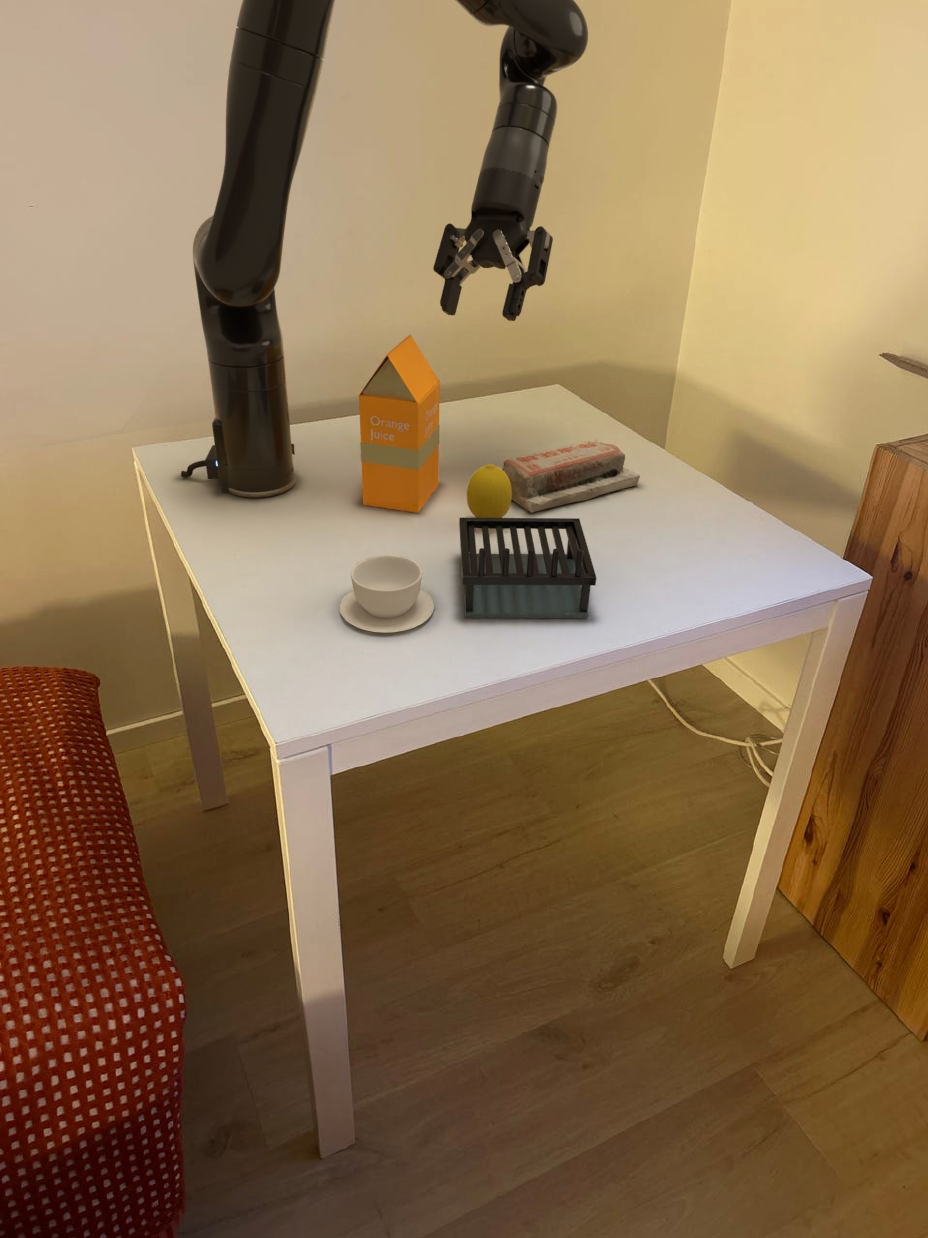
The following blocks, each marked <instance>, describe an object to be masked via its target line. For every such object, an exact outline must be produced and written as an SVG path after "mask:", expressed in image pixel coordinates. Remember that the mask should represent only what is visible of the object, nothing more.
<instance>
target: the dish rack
mask: <svg viewBox="0 0 928 1238" xmlns="http://www.w3.org/2000/svg"><path fill="white" fill-rule="evenodd" d="M458 521H459V523H458V526H459V528H458V529H459V544H460V562H461V583H462V585H463V601H464V617H465V618H466V619H467V618H468V619H588V617H589V612H588V611H589V602H590V594H591V587H592V586H597V574H596V571H595V568H594V564H593V561H592V558H591V554H590V550H589V548H588V547H589V546H588V543H587V540H586V536H585V533H584V530H583V527H582V526H583V525H582V523H581V519H580V518H575V517H574V518H573V517H572V518H571V517H569V518H565V517H564V518H562V517H561V518H559V517H555V518H554V517H502V518H476V517H459V518H458ZM475 529H481V534H482V535H481V537H482V544H483V545H482V546H483V547H481V548H479V549H478V553H477V544H476V530H475ZM490 529H495V533H496V542H497V549H498V553H492V548H491V539H490V531H489V530H490ZM504 529H507V530H509V533H510V539H511V546H512V552H513V553H511V549H510V548H508V547H506V543H505V535H504ZM519 529H521V530H523V532H524V539H525V543H526V549H527V553H522V552H521V547H520V540H519V535H518V530H519ZM532 530H537V534H538V537H539V542H540V548H541V553H536V549H535V544H534V539H533V538H534V537H533V533H532ZM546 530H551V532H552V538H553V542H554V546H555V548H553V550H552V553H551V550H550V545H549V541H548V538H547V532H546ZM560 530H565V532H566V536H567V544H566V545H567V546H566V552H565V548H564V544H563V539H562V535H561V531H560Z"/></svg>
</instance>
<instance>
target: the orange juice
mask: <svg viewBox="0 0 928 1238" xmlns="http://www.w3.org/2000/svg"><path fill="white" fill-rule="evenodd" d="M440 383H441V381H440V379H439V378H438V377H437V375H436V372H434V369H432V367H431V365H430V364H429V362H428V361H427V359H426V357H425V356H424V354H423V351H422V350H421V349H420V347H419V346H418V344H417V342H416V341H415V339H414V338H413V336H412V334H409V335H407V336H406V337H404V339H403V340H402V341H400V342H399V343H398V344H397V345H396V346H395V347H394V348H392V349H391V350H390V351H389V352H388V353H387V354H386V355H385V357H384V358H383V359H382V361H381V362H380V364H379V366H377V368H376V370H375V371H374V372H373V374H372V376H371V377H370V379H369V380H368V382H367V383H366V385H364V387H363V389H362V390H361V392H360V393H359V395H358V404H359V405H358V406H359V407H358V408H359V430H360V432H359V433H360V462H361V484H362V485H361V486H362V505H363V506H368V507H369V506H370V507H376V508H381V509H388V510H389V509H390V510H397V511H401V512H407V513H408V512H409V513H415V514H419V513H420V512H421V510H422V509H423V508H424V507H425V505H426V503H427V502H428V501H429V499H430V498H431V496H432V495H433V494H434V493H435V491H436V490H437V488H438V487H439V484H440V483H439V481H440V474H439V473H440V429H441V428H440V426H441V425H440V392H441V391H440V389H441V388H440V386H441V384H440Z"/></svg>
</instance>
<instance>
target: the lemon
mask: <svg viewBox="0 0 928 1238" xmlns="http://www.w3.org/2000/svg"><path fill="white" fill-rule="evenodd" d="M502 469H503V468H500V467H498V466H496V465H494V464H493V463H488V464H487V465H484V466H481V467H479V468H477V470H475V471H474V472H473V473H472V475H471V477H470V478H469V482H468V484H467V487H466V488H467V489H466V502H467V506H468V509H469V510H470V513H471V514H472V515H473V517H474V518H504V517H505V515H506V514H507V513H508V511H509V509H510V508H511V504H512V488H511V483H510V480H509V478H508V476H507V474H506V473H505V472H504V471H503V470H502Z"/></svg>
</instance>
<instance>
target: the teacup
mask: <svg viewBox="0 0 928 1238" xmlns="http://www.w3.org/2000/svg"><path fill="white" fill-rule="evenodd" d="M422 577H423V570H422V567H421V566H420V564H418V563H417V562H416V561H414V560H413V559H411V558H408V557H406V556H402V555H396V554H380V555H373V556H369V557H366V558H364V559H362V560H360V561H358V562H357V563H356V564H355V565H354V566H353V567H352V568H351V570H350V578H351V584H352V590H350V592H348V593H347V594H346V595H345V596H344V597H343V598H342V600H341V602H340V603H339V604H340V605H339V613H340V614H341V616H342V618H343V620H344V621H346V622H347V623H348V624H350V625H352V626H354V627H356V628H358V629H361V630H364V631H368V632H374V633H398V632H402V631H403V632H404V631H408V630H411V629H413V628H416V627H418V626H420V625H421V624H423V623H425V622H426V621H427V620H429V618H430V617H431V616H432V614H433V612H434V609H435V603H434V600H433V598H432V597H431V596H430V594H429V593H427V592H426V591H425V590H423V589H422V588H421V585H422Z"/></svg>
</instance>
